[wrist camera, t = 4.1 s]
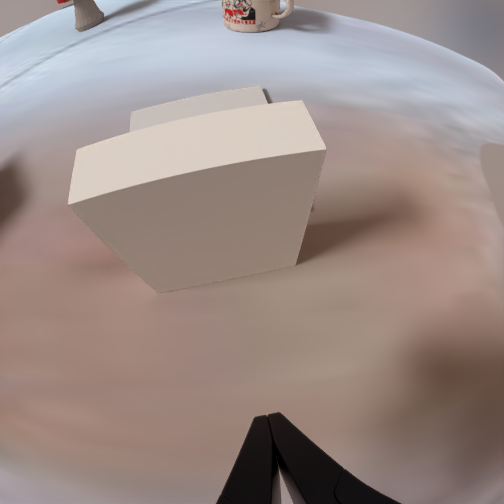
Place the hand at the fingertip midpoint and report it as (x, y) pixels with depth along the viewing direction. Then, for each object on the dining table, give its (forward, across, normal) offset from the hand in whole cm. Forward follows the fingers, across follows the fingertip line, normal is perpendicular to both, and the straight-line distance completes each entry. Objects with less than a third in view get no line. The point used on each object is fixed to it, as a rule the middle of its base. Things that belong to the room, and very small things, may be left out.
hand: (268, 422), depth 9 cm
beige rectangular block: (+14, -1, 0) cm, 14 cm away
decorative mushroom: (+55, -22, +44) cm, 74 cm away
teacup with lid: (+40, +10, +28) cm, 49 cm away
